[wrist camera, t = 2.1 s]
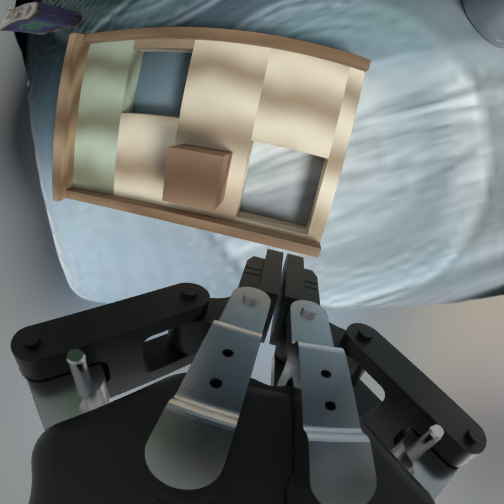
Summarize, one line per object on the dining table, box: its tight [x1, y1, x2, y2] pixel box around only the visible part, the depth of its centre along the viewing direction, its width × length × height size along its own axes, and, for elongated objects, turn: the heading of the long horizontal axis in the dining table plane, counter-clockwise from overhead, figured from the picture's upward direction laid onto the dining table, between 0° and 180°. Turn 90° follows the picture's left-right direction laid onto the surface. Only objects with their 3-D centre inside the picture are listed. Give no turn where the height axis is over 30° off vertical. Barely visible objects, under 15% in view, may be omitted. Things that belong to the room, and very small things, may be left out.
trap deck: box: [52, 27, 371, 258], centre depth 26 cm, size 20×31×6 cm, turn 78°
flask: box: [0, 2, 82, 35], centre depth 19 cm, size 9×3×11 cm, turn 77°
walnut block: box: [162, 143, 233, 212], centre depth 27 cm, size 5×5×4 cm
